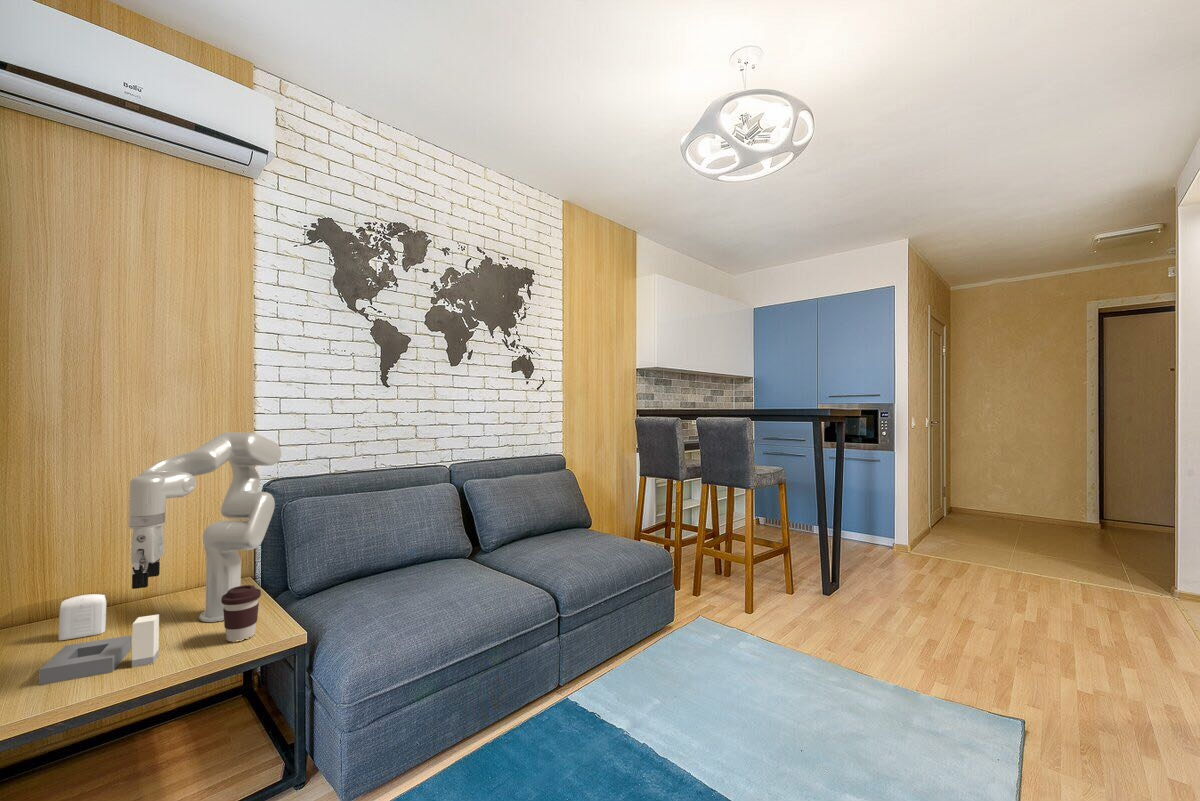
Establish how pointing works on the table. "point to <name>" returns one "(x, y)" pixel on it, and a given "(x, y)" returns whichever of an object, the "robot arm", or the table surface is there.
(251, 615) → the coffee cup
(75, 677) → the socket box
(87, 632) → the photo printer
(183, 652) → the table surface
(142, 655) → the plug
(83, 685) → the table surface
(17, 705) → the table surface
